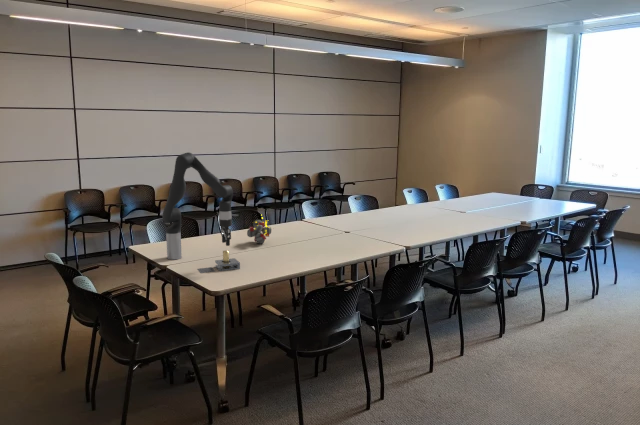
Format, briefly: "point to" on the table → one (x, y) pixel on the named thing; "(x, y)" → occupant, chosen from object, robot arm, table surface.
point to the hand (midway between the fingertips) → (225, 244)
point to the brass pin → (225, 257)
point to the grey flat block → (227, 264)
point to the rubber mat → (206, 270)
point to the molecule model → (256, 231)
